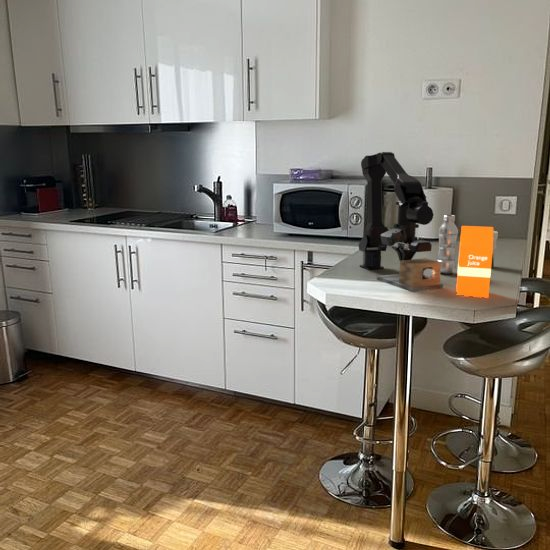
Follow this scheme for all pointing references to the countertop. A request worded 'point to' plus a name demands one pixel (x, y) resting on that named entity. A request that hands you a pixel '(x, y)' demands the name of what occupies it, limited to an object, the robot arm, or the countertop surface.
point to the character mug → (494, 244)
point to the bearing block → (414, 275)
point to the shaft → (429, 273)
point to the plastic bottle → (447, 244)
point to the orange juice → (475, 261)
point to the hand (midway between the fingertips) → (403, 269)
